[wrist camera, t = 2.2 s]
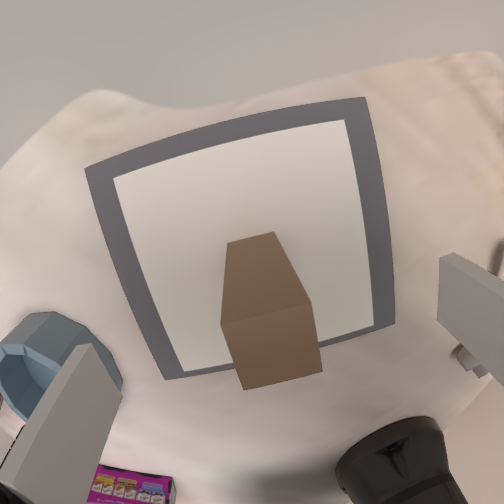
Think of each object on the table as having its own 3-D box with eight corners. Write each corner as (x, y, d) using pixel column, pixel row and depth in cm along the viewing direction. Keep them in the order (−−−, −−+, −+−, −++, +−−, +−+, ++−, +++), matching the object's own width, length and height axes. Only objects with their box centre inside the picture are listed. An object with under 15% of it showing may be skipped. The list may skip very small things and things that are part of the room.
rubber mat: (360, 98, 19) (365, 96, 18) (391, 319, 24) (395, 323, 23) (89, 167, 19) (84, 168, 18) (166, 374, 24) (165, 380, 24)
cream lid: (337, 121, 18) (439, 91, 8) (367, 317, 23) (438, 412, 12) (119, 177, 19) (13, 200, 8) (186, 362, 23) (164, 478, 12)
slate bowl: (130, 345, 23) (110, 387, 18) (114, 424, 26) (101, 462, 21) (18, 292, 21) (-16, 319, 16) (22, 379, 24) (0, 409, 19)
